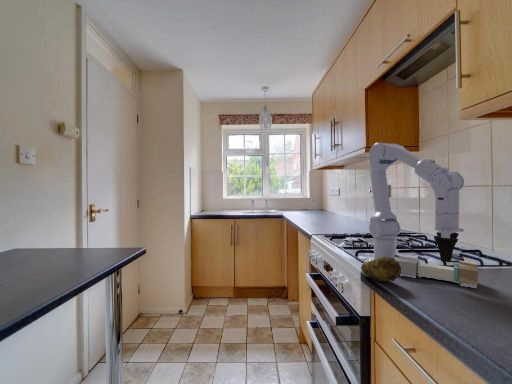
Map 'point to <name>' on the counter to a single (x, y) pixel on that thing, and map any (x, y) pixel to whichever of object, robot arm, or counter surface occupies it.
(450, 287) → the counter surface
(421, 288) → the counter surface
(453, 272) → the white bar teal band
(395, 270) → the potato
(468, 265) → the tan rectangular block
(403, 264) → the sleeve
